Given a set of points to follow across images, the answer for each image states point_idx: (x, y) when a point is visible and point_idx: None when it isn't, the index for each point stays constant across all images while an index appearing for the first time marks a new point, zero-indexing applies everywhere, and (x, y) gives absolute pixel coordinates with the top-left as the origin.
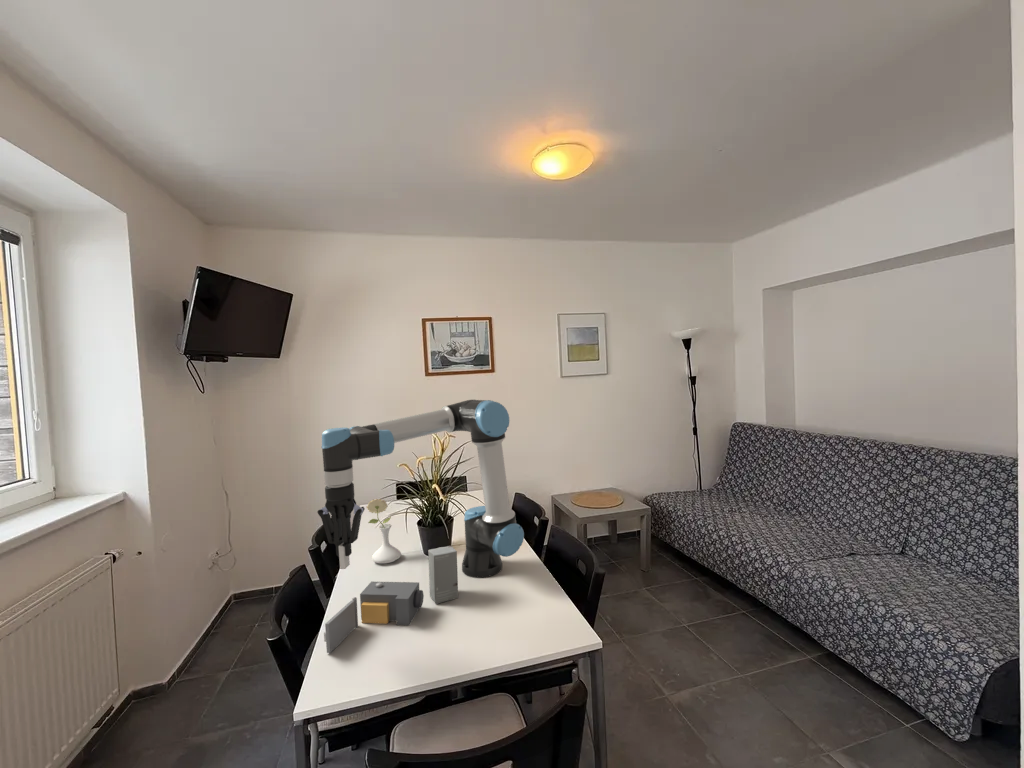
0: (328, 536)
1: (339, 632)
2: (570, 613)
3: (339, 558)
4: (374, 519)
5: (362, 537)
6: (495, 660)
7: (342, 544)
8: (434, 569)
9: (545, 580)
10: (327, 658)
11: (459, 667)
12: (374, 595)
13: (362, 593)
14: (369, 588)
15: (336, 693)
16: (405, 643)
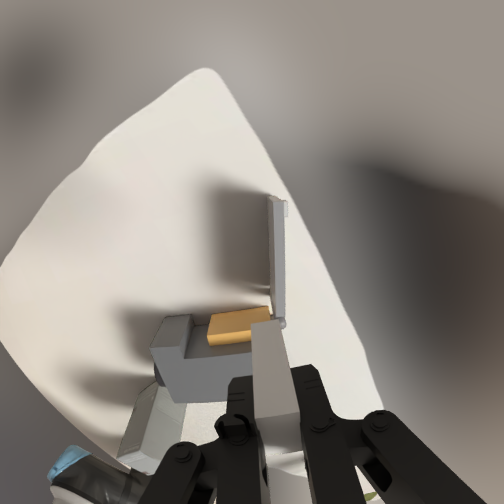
0: (408, 449)
1: (270, 236)
2: (12, 356)
3: (285, 352)
4: (367, 500)
5: None
6: (16, 255)
7: (251, 424)
8: (145, 427)
9: (70, 421)
10: (264, 183)
11: (39, 228)
12: (243, 351)
13: None
14: None
15: (177, 107)
16: (137, 264)
